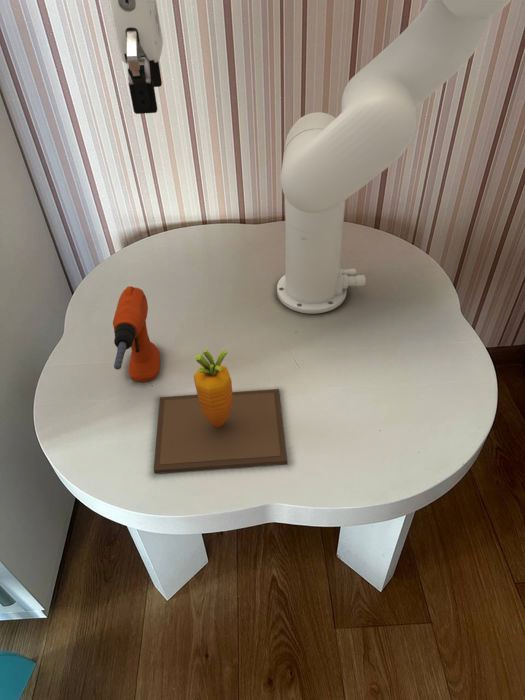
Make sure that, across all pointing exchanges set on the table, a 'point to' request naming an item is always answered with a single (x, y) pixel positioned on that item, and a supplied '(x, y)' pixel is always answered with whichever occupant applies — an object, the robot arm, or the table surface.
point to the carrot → (214, 388)
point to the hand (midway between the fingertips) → (148, 98)
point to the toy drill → (135, 336)
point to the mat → (220, 434)
